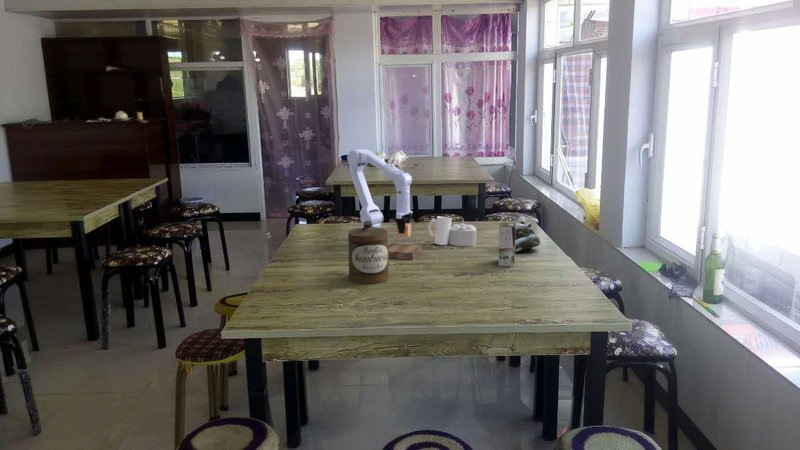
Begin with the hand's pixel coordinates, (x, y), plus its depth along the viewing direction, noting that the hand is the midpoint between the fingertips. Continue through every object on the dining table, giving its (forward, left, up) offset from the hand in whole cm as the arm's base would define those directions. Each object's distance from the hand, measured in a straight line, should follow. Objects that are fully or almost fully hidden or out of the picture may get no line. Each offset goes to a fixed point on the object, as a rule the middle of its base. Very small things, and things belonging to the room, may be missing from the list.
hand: (403, 231), depth 280 cm
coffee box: (+46, -8, -9) cm, 48 cm away
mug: (+11, +16, -8) cm, 21 cm away
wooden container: (0, -44, -9) cm, 45 cm away
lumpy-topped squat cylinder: (+21, +20, -9) cm, 30 cm away
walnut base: (+1, -7, -9) cm, 11 cm away
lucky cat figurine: (+49, +15, -9) cm, 52 cm away
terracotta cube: (0, 0, -2) cm, 2 cm away
